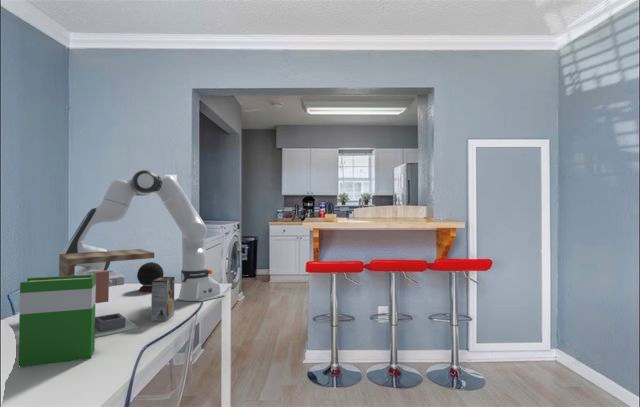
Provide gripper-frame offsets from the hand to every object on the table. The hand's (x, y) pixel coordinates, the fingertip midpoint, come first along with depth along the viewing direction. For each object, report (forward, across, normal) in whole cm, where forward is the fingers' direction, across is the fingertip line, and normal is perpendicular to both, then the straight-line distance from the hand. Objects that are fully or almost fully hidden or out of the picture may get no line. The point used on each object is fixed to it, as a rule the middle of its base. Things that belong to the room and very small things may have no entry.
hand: (101, 285), depth 153 cm
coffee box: (+12, +20, +14) cm, 27 cm away
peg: (-1, 0, +6) cm, 7 cm away
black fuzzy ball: (-44, +34, +14) cm, 57 cm away
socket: (+13, 0, +14) cm, 19 cm away
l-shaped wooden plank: (+13, 0, +14) cm, 19 cm away
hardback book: (+34, -19, +14) cm, 41 cm away
